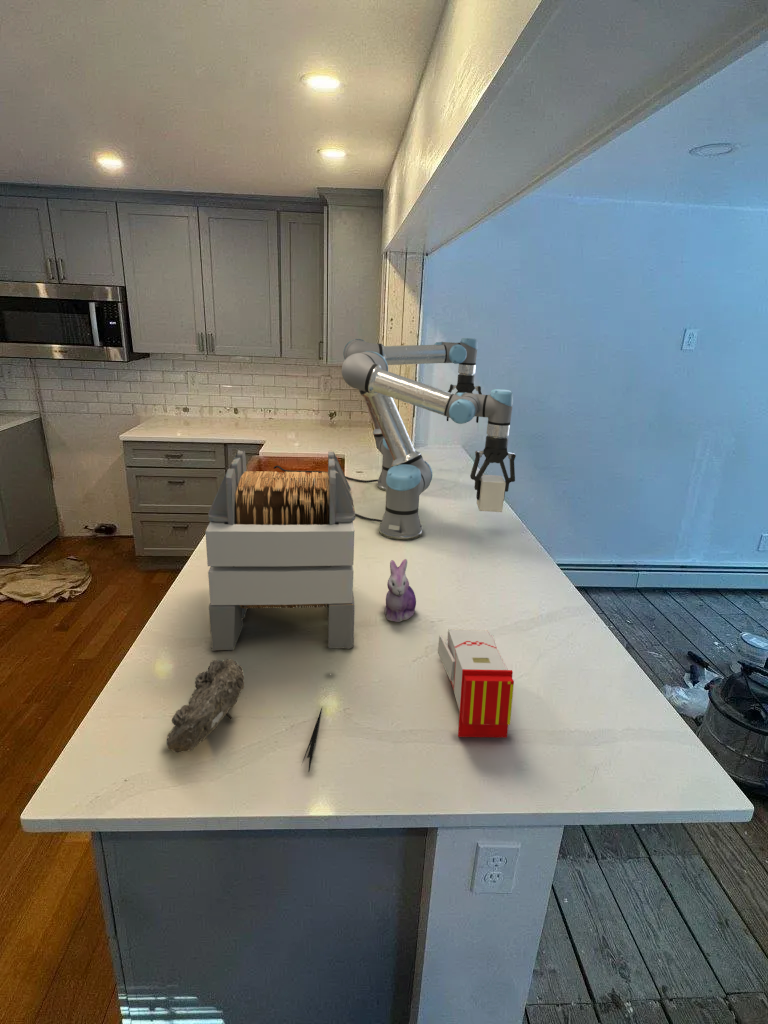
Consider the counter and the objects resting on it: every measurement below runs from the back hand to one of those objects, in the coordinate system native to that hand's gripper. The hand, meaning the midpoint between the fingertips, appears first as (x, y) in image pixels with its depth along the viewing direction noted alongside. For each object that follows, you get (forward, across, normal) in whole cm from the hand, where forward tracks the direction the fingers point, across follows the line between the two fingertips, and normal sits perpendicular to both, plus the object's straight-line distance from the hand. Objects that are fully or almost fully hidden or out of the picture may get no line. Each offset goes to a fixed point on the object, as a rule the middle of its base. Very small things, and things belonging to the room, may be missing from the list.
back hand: (462, 421), depth 261 cm
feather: (+27, +35, +174) cm, 179 cm away
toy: (+27, +5, +162) cm, 164 cm away
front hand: (+14, -7, +69) cm, 71 cm away
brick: (+18, -7, +69) cm, 71 cm away
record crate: (+27, +50, +136) cm, 147 cm away
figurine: (+27, +21, +132) cm, 136 cm away
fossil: (+27, +55, +176) cm, 186 cm away
